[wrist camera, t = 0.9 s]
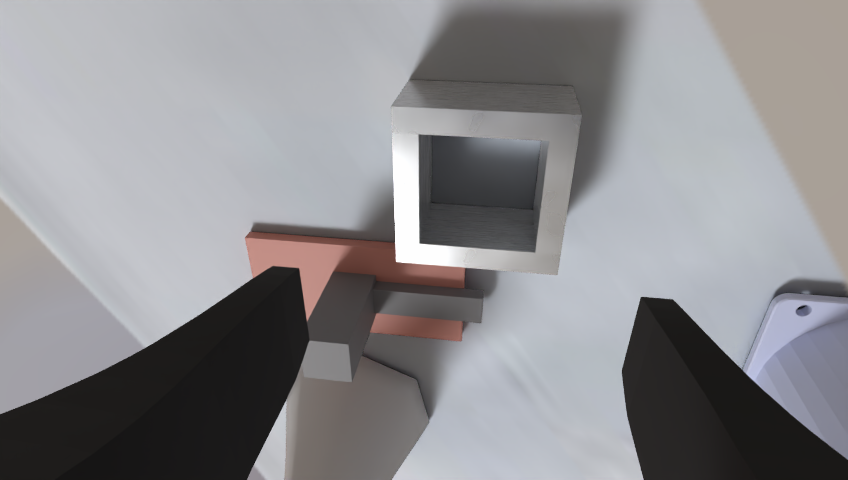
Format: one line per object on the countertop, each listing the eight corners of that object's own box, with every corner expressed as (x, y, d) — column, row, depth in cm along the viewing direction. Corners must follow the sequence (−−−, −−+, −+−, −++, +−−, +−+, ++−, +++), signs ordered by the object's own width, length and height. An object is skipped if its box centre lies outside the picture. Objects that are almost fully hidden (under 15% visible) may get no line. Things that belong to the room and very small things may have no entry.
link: (572, 85, 17) (581, 114, 15) (552, 229, 20) (557, 274, 18) (408, 79, 18) (390, 106, 16) (411, 219, 21) (396, 261, 18)
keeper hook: (486, 249, 21) (479, 327, 17) (480, 335, 23) (473, 421, 19) (249, 231, 22) (191, 300, 18) (266, 314, 25) (217, 391, 21)
